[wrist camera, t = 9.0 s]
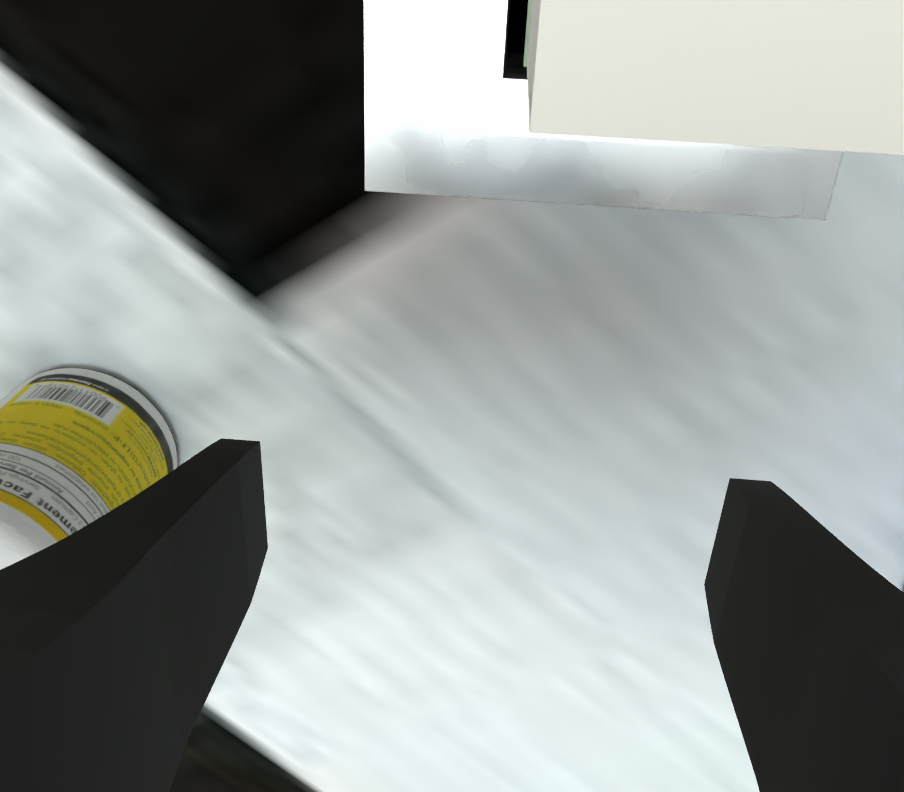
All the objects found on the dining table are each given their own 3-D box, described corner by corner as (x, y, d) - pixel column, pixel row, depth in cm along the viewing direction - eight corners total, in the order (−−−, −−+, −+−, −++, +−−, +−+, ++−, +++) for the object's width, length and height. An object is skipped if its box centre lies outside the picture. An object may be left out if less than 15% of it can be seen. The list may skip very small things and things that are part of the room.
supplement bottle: (83, 536, 27) (-123, 804, 18) (-28, 403, 25) (-318, 635, 16) (218, 480, 26) (63, 742, 17) (112, 334, 24) (-126, 548, 15)
